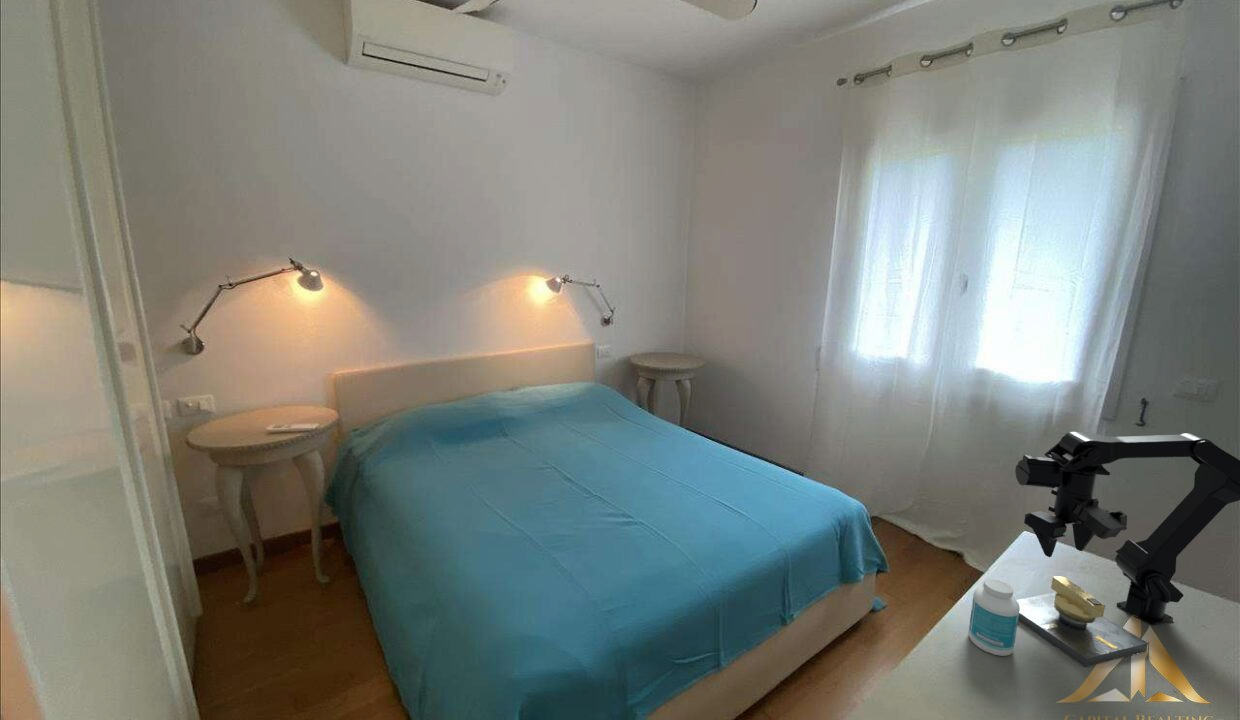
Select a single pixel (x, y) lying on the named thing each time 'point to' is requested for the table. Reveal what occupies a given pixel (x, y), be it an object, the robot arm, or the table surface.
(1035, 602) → the lock base
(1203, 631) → the table surface
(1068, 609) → the brass lock knob
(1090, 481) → the robot arm
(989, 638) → the pill bottle
